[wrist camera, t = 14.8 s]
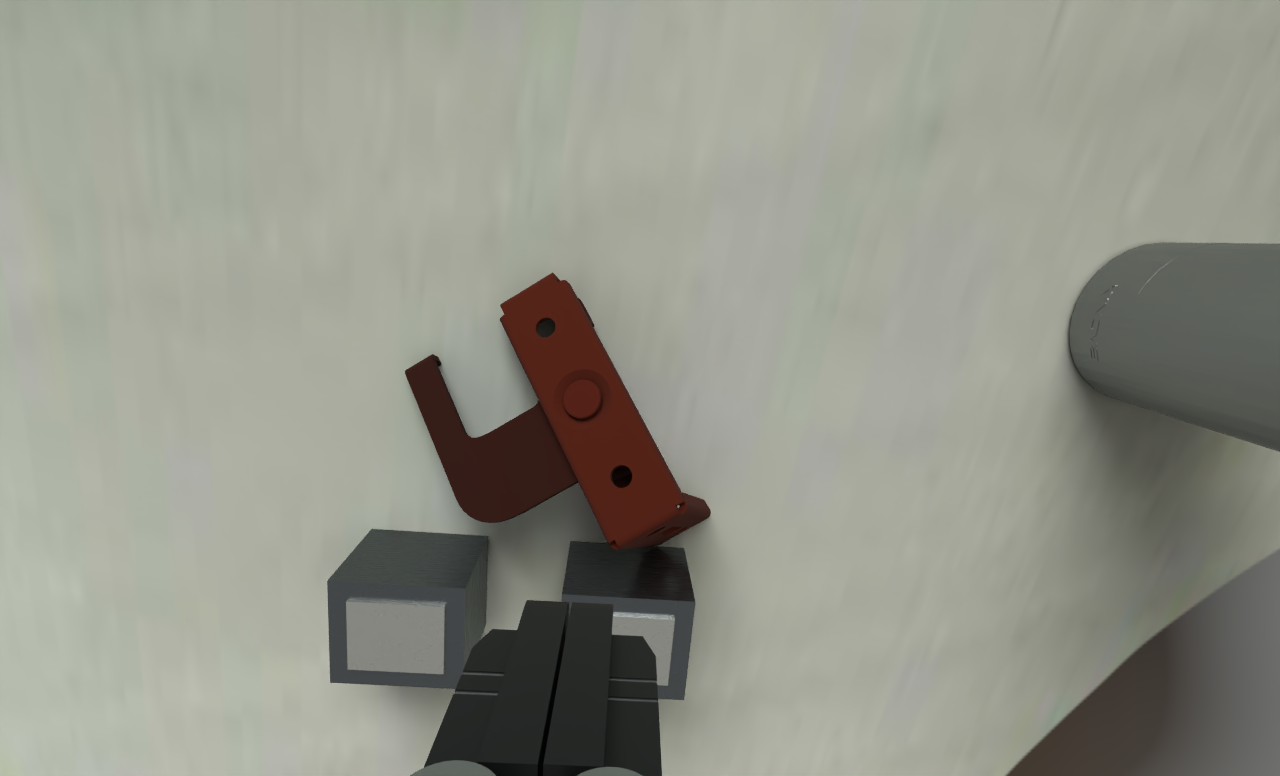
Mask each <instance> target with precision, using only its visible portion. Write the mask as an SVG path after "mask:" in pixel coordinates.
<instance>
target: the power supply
mask: <svg viewBox="0 0 1280 776" xmlns="http://www.w3.org/2000/svg"><path fill="white" fill-rule="evenodd" d="M487 566H488V536H475V535H459V534H443V533H426V532H410V531H394V530H378V529H371V530H370V532H369V533H368V534H367V535H366V536H365V537H364V539H363V540H362V541H361V542H360V543H359V544H358V546H357V547H356V548H355V549H354V550H353V551H352V553H351V554H350V555H349V556H348V557H347V559H346V560H345V561H344V562H343V563H342V564H341V566H340V567H339V568H338V569H337V570H336V571H335V573H334V574H333V575H332V576H331V577H330V578H329V580H328V581H327V583H328V617H329V651H330V683H350V684H371V685H391V686H411V687H431V688H452V689H456V687H457V684H458V682H459V679H460V677H461V675H463V669H464V667H465V664H466V662H467V659H468V657H469V655H470V652H471V650H472V648H473V647H474V646H475V645H476V644H477V643H478V642H479V641H480V639H481V636H482V633H483V630H484V627H485V624H486V596H487Z"/></svg>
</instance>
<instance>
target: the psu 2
mask: <svg viewBox="0 0 1280 776" xmlns="http://www.w3.org/2000/svg"><path fill="white" fill-rule="evenodd" d="M562 602H569V616H570V610H571V605H572V602H577V603H598V604H613V623H612V635H629V636H643V637H644V639H645V640H646V642H647V643H648V645H649V646H650V648H651V649H652V651H653V653H654V654H655V656H656V668H657V688H658V699H674V700H684V696H685V687H686V678H687V669H688V661H689V652H690V643H691V634H692V625H693V617H694V608H695V599H694V594H693V589H692V584H691V580H690V575H689V570H688V565H687V561H686V556H685V551H684V548H671V547H655V546H646V547H637V548H627V549H618V550H616V549H613V548H612V547H611V546H610V544H606V543H590V542H573V541H571V542H570V548H569V555H568V561H567V567H566V573H565V579H564V586H563V592H562Z"/></svg>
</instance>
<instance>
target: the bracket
mask: <svg viewBox="0 0 1280 776" xmlns="http://www.w3.org/2000/svg"><path fill="white" fill-rule="evenodd" d="M500 306H501V308H502V310H503V312H504V314H505V315H503V316H502V317H501V318H500V321H501V323H502V325H503V327H504V329H505V331H506V333H507V335H508V338H509V340H510V342H511V344H512V346H513V348H514V350H515V352H516V354H517V356H518V358H519V360H520V362H521V364H522V366H523V369H524V371H525V373H526V375H527V377H528V379H529V381H530V383H531V385H532V387H533V389H534V391H535V393H536V395H537V397H538V399H539V401H538V403H537V404H536V405H535V406H534V407H533V408H531V409H529V410H528V411H526V412H524V413H523V414H521V415H519V416H517V417H516V418H514V419H512V420H510V421H509V422H507V423H505V424H504V425H502V426H500V427H498V428H497V429H495V430H493V431H491V432H490V433H488V434H485V435H483V436H481V437H477V438H471V437H470V436H468V434H467V433H466V431H465V428H464V426H463V424H462V421H461V419H460V417H459V414H458V412H457V410H456V407H455V405H454V403H453V400H452V398H451V396H450V393H449V391H448V389H447V386H446V384H445V382H444V379H443V377H442V375H441V372H440V370H439V368H438V366H440V365H441V362H440V360H439V358H438V357H437V356H435V355H433V354H432V355H430V356H429V357H427V358H425V359H424V360H422V361H420V362H419V363H417V364H415V365H414V366H412V367H410V368H409V369H407V370H405V374H406V377H407V379H408V382H409V384H410V386H411V389H412V391H413V394H414V396H415V399H416V401H417V404H418V406H419V409H420V411H421V413H422V416H423V418H424V421H425V423H426V426H427V428H428V431H429V433H430V436H431V438H432V440H433V443H434V445H435V448H436V450H437V453H438V455H439V458H440V460H441V463H442V465H443V468H444V470H445V472H446V475H447V477H448V480H449V482H450V485H451V487H452V490H453V492H454V495H455V497H456V499H457V501H458V503H459V505H460V507H461V508H462V509H463V511H464V512H465V513H467V514H468V515H469V516H470V517H472V518H474V519H475V520H478V521H481V522H487V523H496V522H502V521H506V520H508V519H511V518H514V517H516V516H518V515H520V514H522V513H524V512H526V511H528V510H530V509H532V508H533V507H535V506H537V505H539V504H541V503H542V502H544V501H546V500H548V499H549V498H551V497H553V496H555V495H557V494H558V493H560V492H562V491H564V490H566V489H567V488H569V487H571V486H573V485H574V484H576V483H578V482H579V484H580V486H581V488H582V490H583V492H584V494H585V496H586V499H587V501H588V503H589V505H590V507H591V509H592V511H593V513H594V515H595V517H596V519H597V521H598V523H599V525H600V527H601V530H602V532H603V534H604V536H605V538H606V540H607V542H608V544H609V543H610V546H611V547H612V548H613V549H616V550H618V549H627V548H637V547H646V546H655V545H660V544H662V543H663V542H665V541H667V540H669V539H671V538H672V537H674V536H676V535H678V534H680V533H681V532H683V531H685V530H687V529H689V528H690V527H692V526H694V525H696V524H698V523H700V522H701V521H703V520H705V519H707V518H708V517H709V516H710V514H711V512H710V509H709V507H708V506H707V504H706V502H705V501H704V500H703V499H700V498H697V497H694V496H691V495H688V494H685V493H681V490H680V488H679V487H678V485H677V483H676V481H675V479H674V477H673V475H672V473H671V472H670V470H669V468H668V466H667V464H666V462H665V460H664V459H663V457H662V455H661V453H660V451H659V449H658V447H657V445H656V444H655V442H654V440H653V438H652V436H651V434H650V432H649V431H648V429H647V427H646V425H645V423H644V421H643V419H642V417H641V416H640V414H639V412H638V410H637V408H636V406H635V404H634V403H633V401H632V399H631V397H630V395H629V393H628V391H627V389H626V388H625V386H624V384H623V382H622V380H621V378H620V376H619V375H618V373H617V371H616V369H615V367H614V365H613V363H612V361H611V360H610V358H609V356H608V354H607V352H606V350H605V348H604V347H603V345H602V343H601V341H600V339H599V337H598V335H597V333H596V332H595V330H594V328H593V327H594V324H593V322H592V320H591V318H590V316H589V314H588V312H587V310H586V308H585V306H584V305H583V303H582V301H581V300H580V299H579V298H577V296H576V294H575V292H574V291H573V289H572V287H571V285H570V284H569V283H568V282H567V281H566V280H562V281H560V280H559V279H558V278H557V277H556V275H555V274H554V273H551V274H550V275H548V276H546V277H545V278H543V279H541V280H540V281H538V282H537V283H535V284H533V285H532V286H530V287H528V288H527V289H525V290H523V291H522V292H520V293H519V294H517V295H515V296H514V297H512V298H510V299H509V300H507V301H505V302H504V303H502V304H501V305H500ZM548 319H549V320H553V321H554V322H555V331H554V333H553V334H552V335H551V336H549V337H546V338H543V337H540V336H539V333H538V327H539V325H540V324H541V323H542V322H543V321H545V320H548ZM677 505H680V508H677Z"/></svg>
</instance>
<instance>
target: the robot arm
mask: <svg viewBox="0 0 1280 776" xmlns="http://www.w3.org/2000/svg"><path fill="white" fill-rule="evenodd" d="M1069 336H1070V348H1071V353H1072V356H1073V359H1074V362H1075V365H1076V367H1077V369H1078V370H1079V372H1080V374H1081V375H1082V377H1083V378H1084V379H1085V380H1086V381H1087V382H1088V383H1089V384H1090V385H1091V386H1092V387H1093V388H1094V389H1096V390H1098V391H1099V392H1101V393H1103V394H1105V395H1106V396H1109V397H1112V398H1115V399H1118V400H1122V401H1125V402H1128V403H1131V404H1134V405H1137V406H1140V407H1143V408H1146V409H1149V410H1152V411H1155V412H1159V413H1161V414H1164V415H1167V416H1170V417H1173V418H1176V419H1179V420H1182V421H1185V422H1188V423H1192V424H1195V425H1198V426H1201V427H1204V428H1207V429H1210V430H1213V431H1217V432H1220V433H1223V434H1226V435H1229V436H1232V437H1235V438H1238V439H1241V440H1245V441H1248V442H1251V443H1254V444H1257V445H1260V446H1263V447H1266V448H1270V449H1273V450H1276V451H1279V452H1280V244H1251V243H1155V244H1146V245H1142V246H1139V247H1136V248H1133V249H1130V250H1128V251H1126V252H1124V253H1122V254H1121V255H1119V256H1117V257H1115V258H1114V259H1112V260H1111V261H1109V262H1108V263H1107V264H1106V265H1105V266H1104V267H1102V268H1101V269H1100V270H1099V271H1098V272H1097V273H1096V274H1095V275H1094V277H1093V278H1092V279H1091V280H1090V281H1089V283H1088V284H1087V285H1086V286H1085V288H1084V290H1083V292H1082V294H1081V295H1080V297H1079V299H1078V301H1077V303H1076V306H1075V309H1074V312H1073V315H1072V318H1071V326H1070V334H1069ZM612 623H613V604H598V603H577V602H572V605H571V610H570V616H569V602H553V601H532V600H527V601H526V604H525V607H524V610H523V613H522V616H521V620H520V623H519V626H518V629H517V630H498V629H492V630H491V631H490V632H489V633H488V634H487V635H486V636H485V637H483V638H482V639H481V640H480V641H479V642H478V643H477V644H476V645H475V646H474V647H473V648H472V650H471V652H470V655H469V657H468V659H467V662H466V664H465V667H464V669H463V675H461V677H460V679H459V682H458V684H457V687H456V689H455V694H453V697H452V699H451V701H450V704H449V706H448V709H447V711H446V714H445V716H444V719H443V721H442V724H441V726H440V729H439V731H438V734H437V736H436V739H435V741H434V743H433V746H432V748H431V751H430V753H429V756H428V758H427V761H426V763H425V766H424V768H423V769H421V770H419V771H417V772H415V773H413V774H412V775H410V776H662V768H661V748H660V728H659V708H658V688H657V668H656V656H655V654H654V653H653V651H652V649H651V648H650V646H649V645H648V643H647V642H646V640H645V639H644V637H643V636H629V635H612Z"/></svg>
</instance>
